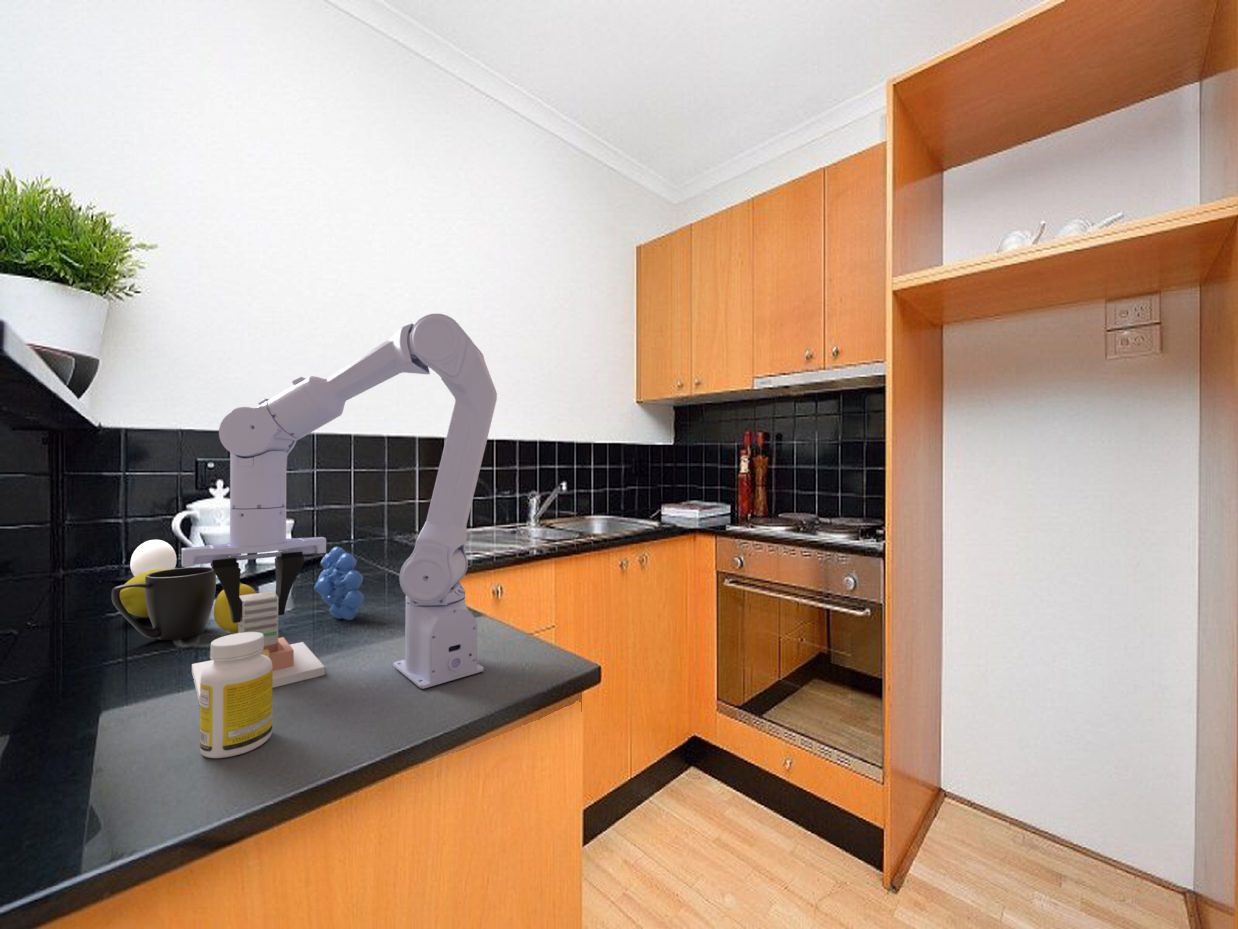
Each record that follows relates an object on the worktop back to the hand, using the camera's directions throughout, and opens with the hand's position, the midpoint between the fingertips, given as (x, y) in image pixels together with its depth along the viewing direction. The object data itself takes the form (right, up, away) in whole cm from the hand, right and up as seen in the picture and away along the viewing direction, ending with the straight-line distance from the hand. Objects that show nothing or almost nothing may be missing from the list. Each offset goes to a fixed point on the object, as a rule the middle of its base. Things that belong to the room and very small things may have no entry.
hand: (258, 617), depth 64 cm
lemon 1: (-34, -7, +23) cm, 42 cm away
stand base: (0, -7, 0) cm, 7 cm away
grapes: (-3, -7, +22) cm, 23 cm away
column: (0, -3, 0) cm, 3 cm away
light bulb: (-47, -7, +37) cm, 60 cm away
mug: (-23, -7, +13) cm, 27 cm away
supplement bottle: (+9, -7, -16) cm, 20 cm away
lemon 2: (-14, -7, +15) cm, 21 cm away
